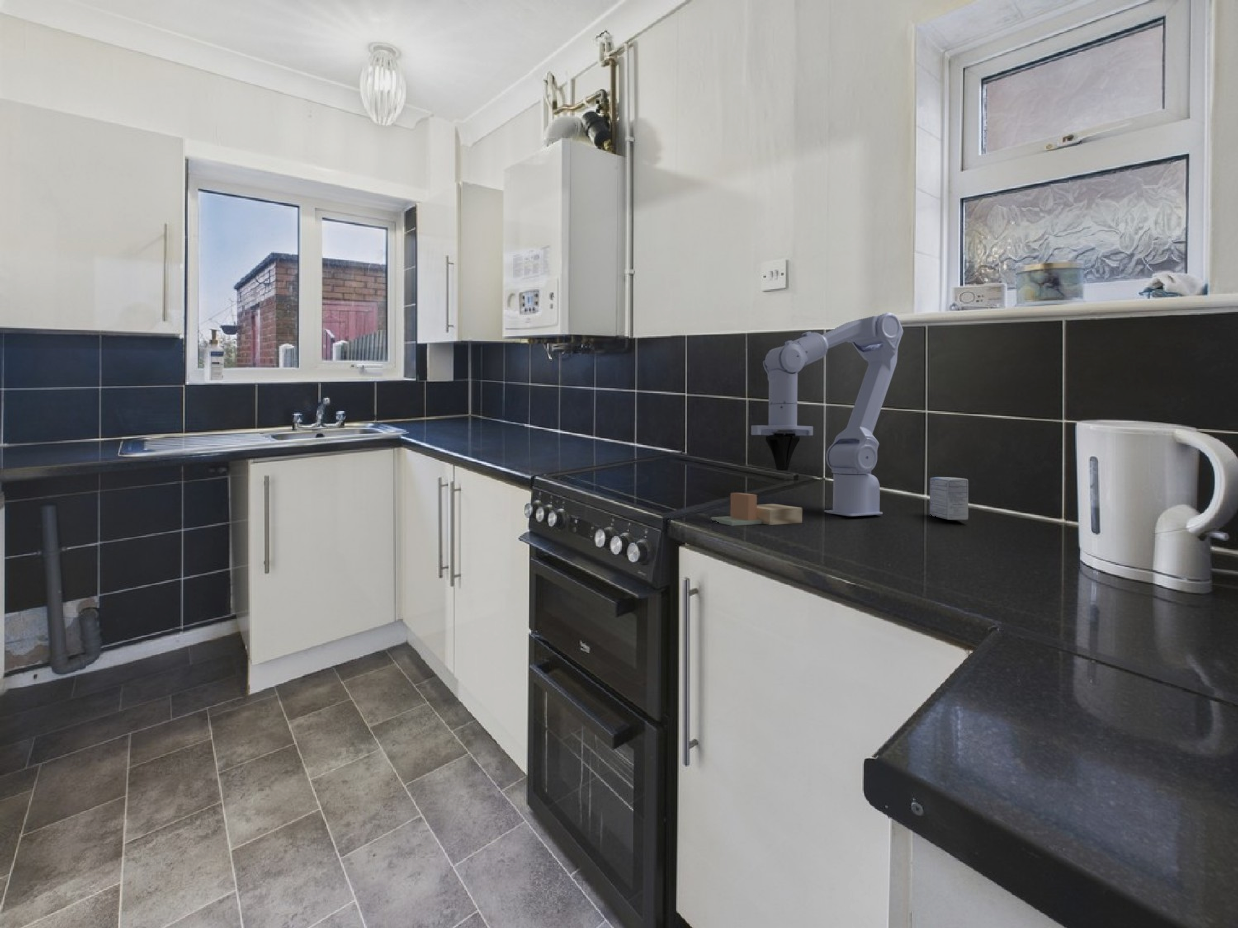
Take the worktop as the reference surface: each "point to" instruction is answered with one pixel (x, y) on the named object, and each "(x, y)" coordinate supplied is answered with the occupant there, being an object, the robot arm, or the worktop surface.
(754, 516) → the terracotta block
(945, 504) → the medicine box
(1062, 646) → the worktop surface
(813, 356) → the robot arm
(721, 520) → the sage mat
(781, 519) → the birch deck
